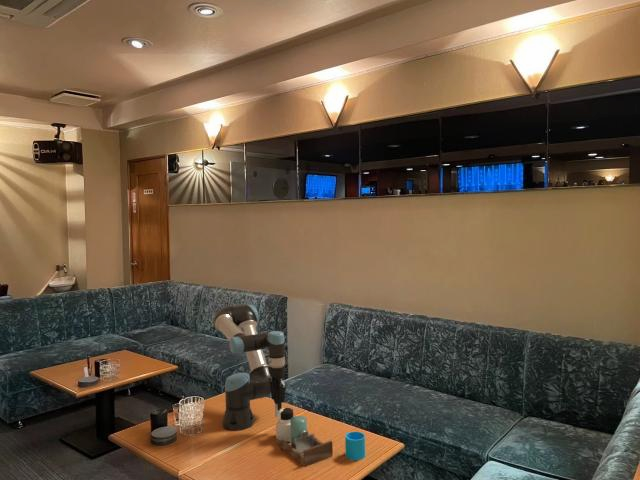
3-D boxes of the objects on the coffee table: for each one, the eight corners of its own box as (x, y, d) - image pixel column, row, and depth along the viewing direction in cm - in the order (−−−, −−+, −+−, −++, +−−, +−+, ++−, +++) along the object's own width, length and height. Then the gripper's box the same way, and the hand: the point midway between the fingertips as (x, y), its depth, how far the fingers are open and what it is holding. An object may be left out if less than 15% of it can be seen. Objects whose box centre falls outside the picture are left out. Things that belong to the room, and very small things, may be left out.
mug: (364, 461, 184) (363, 441, 184) (344, 459, 186) (343, 439, 185) (367, 447, 196) (367, 428, 195) (348, 445, 197) (348, 426, 197)
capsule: (288, 446, 198) (287, 418, 198) (301, 441, 202) (301, 414, 202) (296, 452, 192) (295, 424, 192) (310, 447, 196) (309, 419, 196)
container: (297, 434, 209) (296, 406, 209) (292, 442, 201) (292, 413, 201) (280, 433, 210) (280, 405, 210) (275, 441, 203) (275, 412, 203)
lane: (276, 444, 200) (276, 430, 200) (302, 435, 208) (302, 422, 207) (305, 466, 181) (304, 451, 181) (332, 456, 189) (332, 441, 188)
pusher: (294, 453, 192) (294, 434, 191) (313, 446, 197) (312, 428, 196) (296, 454, 191) (295, 435, 190) (314, 447, 196) (314, 429, 196)
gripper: (263, 364, 214) (264, 414, 215) (276, 370, 204) (278, 423, 204) (277, 361, 219) (278, 410, 219) (291, 367, 208) (292, 418, 208)
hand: (278, 416), depth 212 cm, fingers closed
